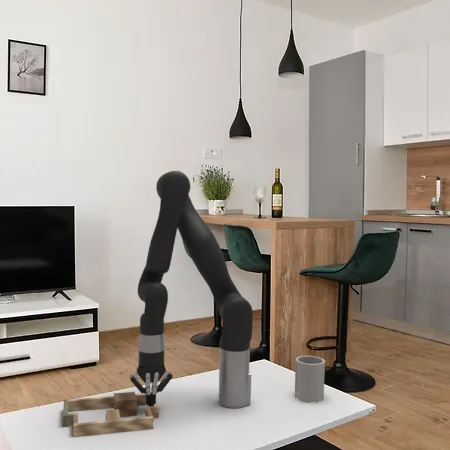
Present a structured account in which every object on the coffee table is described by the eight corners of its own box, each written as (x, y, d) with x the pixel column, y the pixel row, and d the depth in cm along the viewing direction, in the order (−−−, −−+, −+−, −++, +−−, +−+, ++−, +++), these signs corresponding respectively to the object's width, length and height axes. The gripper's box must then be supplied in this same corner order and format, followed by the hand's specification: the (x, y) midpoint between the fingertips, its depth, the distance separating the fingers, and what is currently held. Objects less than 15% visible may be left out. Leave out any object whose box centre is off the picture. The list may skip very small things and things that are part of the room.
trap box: (153, 402, 161) (153, 392, 161) (162, 427, 143) (162, 417, 143) (63, 410, 153) (63, 400, 153) (62, 437, 136) (62, 426, 136)
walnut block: (134, 408, 156) (134, 391, 156) (136, 416, 151) (137, 399, 150) (113, 410, 155) (113, 393, 154) (115, 418, 149) (115, 401, 149)
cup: (329, 398, 167) (330, 361, 166) (308, 404, 161) (309, 366, 161) (309, 389, 174) (310, 354, 173) (288, 395, 169) (290, 358, 168)
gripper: (171, 343, 159) (170, 399, 160) (127, 345, 156) (126, 402, 156) (176, 350, 152) (175, 408, 153) (130, 353, 148) (129, 413, 149)
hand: (150, 405), depth 155 cm, fingers closed
